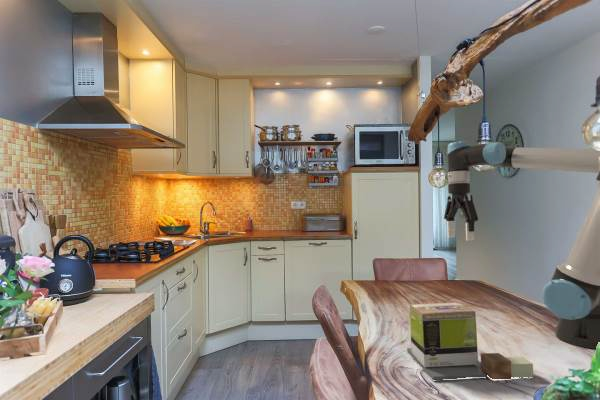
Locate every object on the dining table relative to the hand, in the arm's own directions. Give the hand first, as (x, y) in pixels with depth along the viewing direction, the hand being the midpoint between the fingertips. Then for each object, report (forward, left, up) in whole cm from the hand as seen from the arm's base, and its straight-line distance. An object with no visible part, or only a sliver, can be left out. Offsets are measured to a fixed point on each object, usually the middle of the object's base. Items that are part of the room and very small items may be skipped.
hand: (460, 239), depth 132 cm
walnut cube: (+13, +40, -32) cm, 53 cm away
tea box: (+23, +32, -31) cm, 50 cm away
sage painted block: (+7, +40, -32) cm, 52 cm away
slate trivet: (+23, +32, -32) cm, 51 cm away
